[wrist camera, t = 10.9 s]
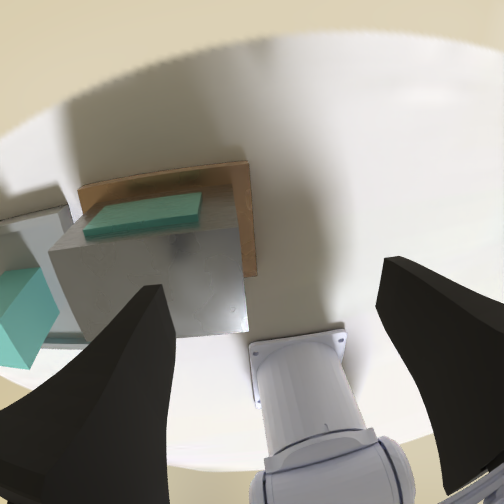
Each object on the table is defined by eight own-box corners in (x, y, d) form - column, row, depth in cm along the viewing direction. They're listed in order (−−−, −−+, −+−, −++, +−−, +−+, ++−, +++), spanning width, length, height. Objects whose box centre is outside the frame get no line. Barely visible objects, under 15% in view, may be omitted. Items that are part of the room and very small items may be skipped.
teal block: (59, 312, 19) (29, 369, 14) (24, 313, 19) (-7, 364, 14) (40, 266, 17) (-1, 320, 12) (5, 271, 17) (-36, 319, 12)
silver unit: (255, 267, 20) (272, 344, 14) (111, 282, 19) (78, 355, 13) (247, 160, 17) (265, 197, 10) (83, 185, 16) (23, 232, 10)
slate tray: (114, 336, 22) (110, 349, 20) (18, 336, 21) (12, 346, 20) (68, 204, 16) (57, 212, 15) (-30, 229, 16) (-41, 237, 14)
